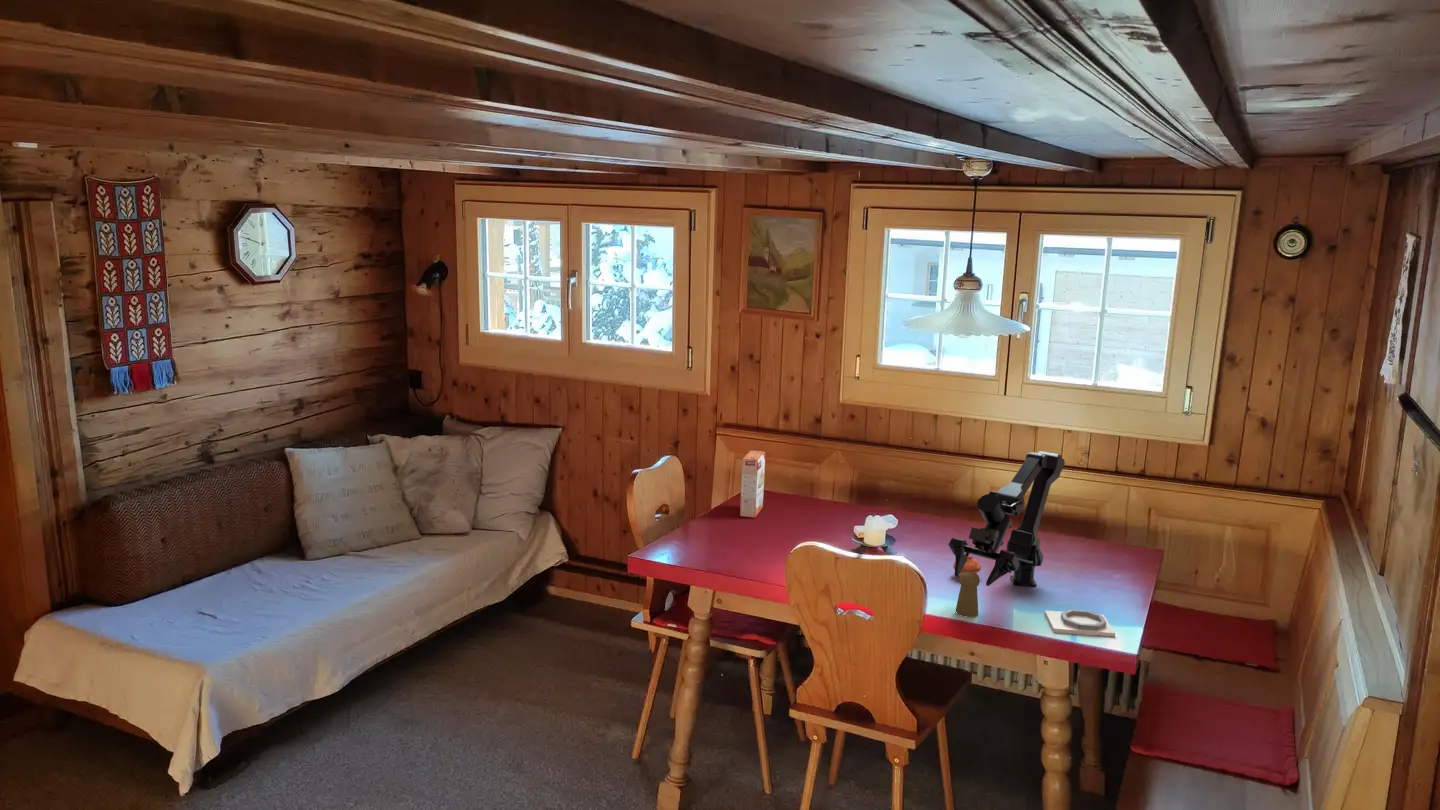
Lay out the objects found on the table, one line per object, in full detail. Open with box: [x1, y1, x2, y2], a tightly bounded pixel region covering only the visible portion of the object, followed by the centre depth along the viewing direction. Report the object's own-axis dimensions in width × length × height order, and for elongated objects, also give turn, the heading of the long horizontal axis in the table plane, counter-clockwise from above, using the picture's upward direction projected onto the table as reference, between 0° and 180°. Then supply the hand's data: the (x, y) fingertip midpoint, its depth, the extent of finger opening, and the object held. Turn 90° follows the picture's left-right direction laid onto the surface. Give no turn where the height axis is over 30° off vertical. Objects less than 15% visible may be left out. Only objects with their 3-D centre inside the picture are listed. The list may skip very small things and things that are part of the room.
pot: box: [952, 555, 982, 575], centre depth 289 cm, size 8×8×7 cm
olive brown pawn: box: [955, 572, 981, 618], centre depth 261 cm, size 6×6×11 cm
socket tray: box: [1044, 609, 1116, 637], centre depth 256 cm, size 12×15×2 cm
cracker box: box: [739, 450, 767, 519], centre depth 346 cm, size 14×6×21 cm, turn 167°
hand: (971, 580), depth 261 cm, fingers open, 9 cm apart
